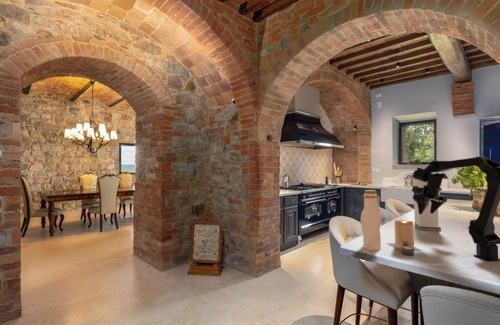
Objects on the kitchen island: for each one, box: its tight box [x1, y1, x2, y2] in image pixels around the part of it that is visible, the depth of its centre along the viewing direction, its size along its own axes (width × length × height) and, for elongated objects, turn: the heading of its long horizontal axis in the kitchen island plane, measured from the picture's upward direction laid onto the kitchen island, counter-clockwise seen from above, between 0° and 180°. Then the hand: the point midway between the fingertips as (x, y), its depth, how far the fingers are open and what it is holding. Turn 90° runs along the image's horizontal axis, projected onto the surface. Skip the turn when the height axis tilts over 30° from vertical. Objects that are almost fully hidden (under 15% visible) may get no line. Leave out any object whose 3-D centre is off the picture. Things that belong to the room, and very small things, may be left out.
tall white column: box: [412, 171, 442, 232], centre depth 161 cm, size 11×11×35 cm
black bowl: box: [400, 246, 415, 256], centre depth 115 cm, size 5×5×3 cm
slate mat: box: [387, 242, 423, 252], centre depth 125 cm, size 12×10×1 cm
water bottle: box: [360, 189, 382, 251], centre depth 126 cm, size 10×9×28 cm
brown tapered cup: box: [394, 219, 415, 250], centre depth 124 cm, size 8×8×13 cm
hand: (425, 213), depth 133 cm, fingers open, 9 cm apart
